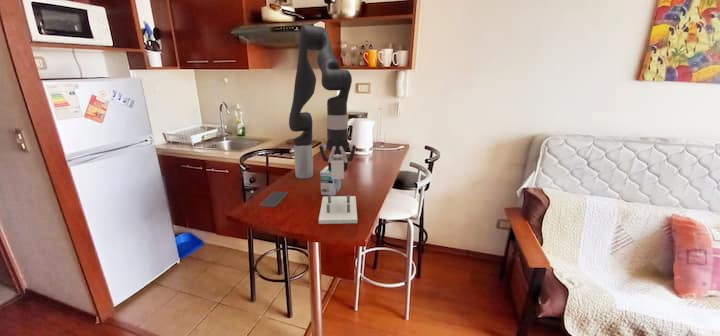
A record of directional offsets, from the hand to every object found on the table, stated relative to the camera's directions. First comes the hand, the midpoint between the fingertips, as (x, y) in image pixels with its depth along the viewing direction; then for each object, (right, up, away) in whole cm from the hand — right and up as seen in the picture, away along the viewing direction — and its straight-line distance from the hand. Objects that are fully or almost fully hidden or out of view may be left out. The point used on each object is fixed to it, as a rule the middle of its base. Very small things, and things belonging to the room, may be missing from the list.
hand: (338, 171), depth 116 cm
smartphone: (-29, -13, +15) cm, 35 cm away
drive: (0, -1, 0) cm, 1 cm away
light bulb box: (-5, -10, +25) cm, 27 cm away
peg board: (0, -16, +5) cm, 16 cm away
